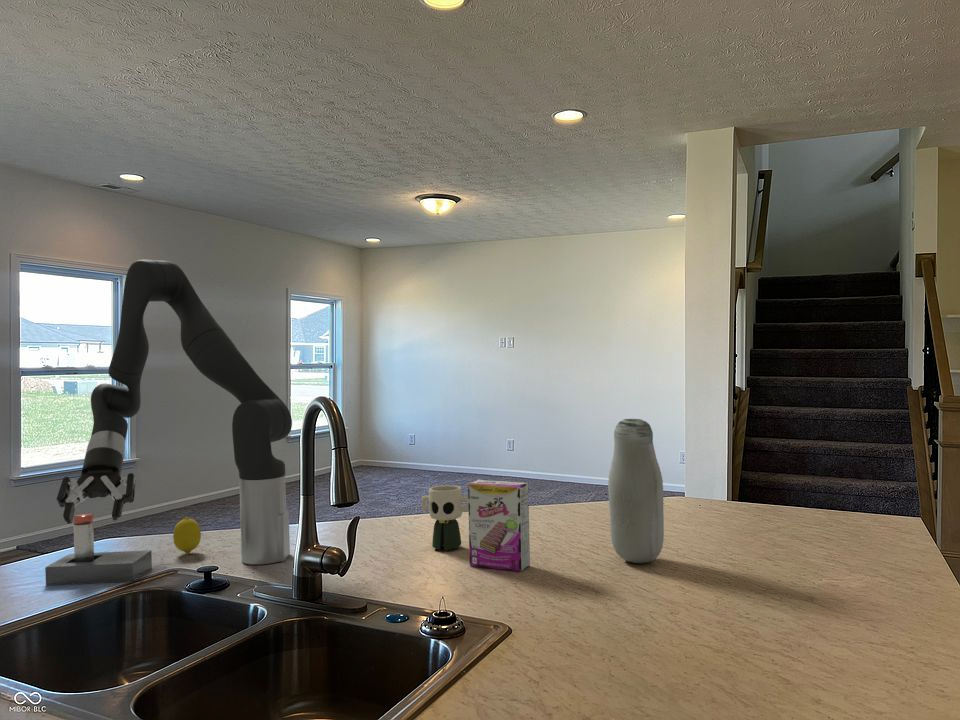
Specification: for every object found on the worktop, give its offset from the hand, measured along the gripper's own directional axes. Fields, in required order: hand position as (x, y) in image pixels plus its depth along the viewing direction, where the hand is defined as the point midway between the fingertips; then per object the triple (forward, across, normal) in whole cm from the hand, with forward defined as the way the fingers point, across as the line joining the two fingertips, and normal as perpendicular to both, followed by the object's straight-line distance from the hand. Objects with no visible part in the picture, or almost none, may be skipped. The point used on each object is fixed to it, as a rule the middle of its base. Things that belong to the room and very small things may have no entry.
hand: (91, 519), depth 146 cm
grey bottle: (+30, +105, -17) cm, 111 cm away
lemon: (+4, +18, +10) cm, 21 cm away
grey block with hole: (+12, +3, +2) cm, 12 cm away
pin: (+12, 0, +2) cm, 12 cm away
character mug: (+14, +72, -1) cm, 73 cm away
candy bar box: (+26, +79, -12) cm, 84 cm away
